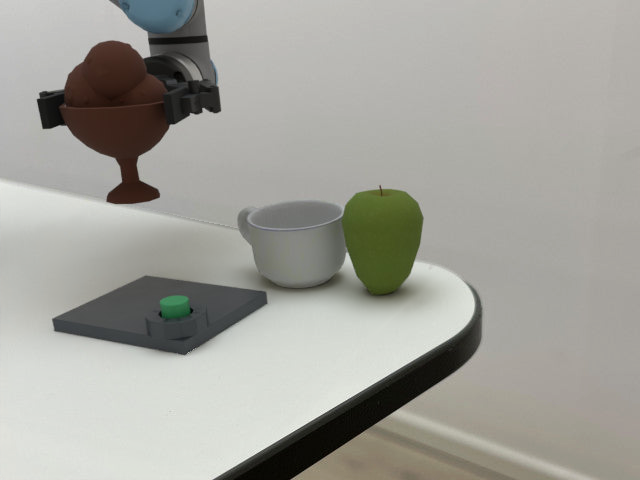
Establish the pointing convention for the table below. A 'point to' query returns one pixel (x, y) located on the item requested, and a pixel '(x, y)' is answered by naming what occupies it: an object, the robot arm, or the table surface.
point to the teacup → (295, 240)
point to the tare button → (175, 307)
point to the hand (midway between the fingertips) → (106, 111)
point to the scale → (146, 318)
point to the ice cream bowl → (117, 113)
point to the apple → (382, 237)
